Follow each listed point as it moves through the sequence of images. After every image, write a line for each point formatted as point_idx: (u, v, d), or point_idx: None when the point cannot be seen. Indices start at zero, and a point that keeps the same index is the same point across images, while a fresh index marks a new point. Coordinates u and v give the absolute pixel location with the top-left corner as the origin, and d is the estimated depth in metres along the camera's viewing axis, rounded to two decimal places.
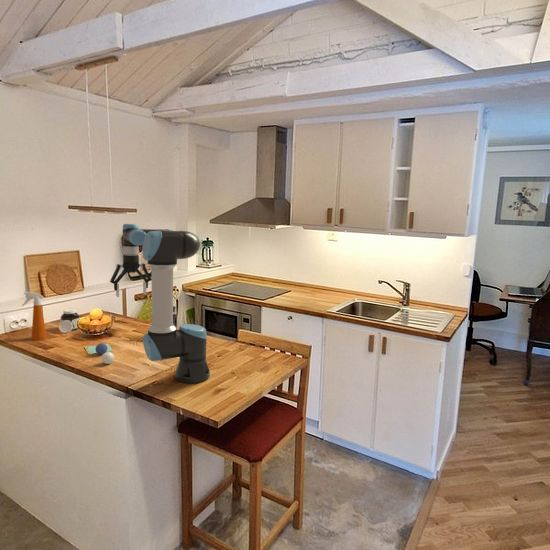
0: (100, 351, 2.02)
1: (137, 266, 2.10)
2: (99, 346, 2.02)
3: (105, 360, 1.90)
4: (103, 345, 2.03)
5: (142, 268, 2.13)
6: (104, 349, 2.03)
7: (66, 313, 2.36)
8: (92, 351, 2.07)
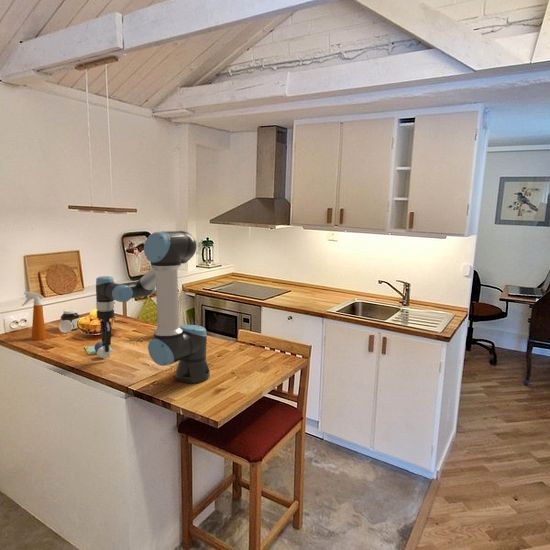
0: (98, 345, 2.04)
1: (104, 323, 1.90)
2: None
3: None
4: None
5: None
6: (102, 343, 2.06)
7: (66, 313, 2.36)
8: (92, 351, 2.07)
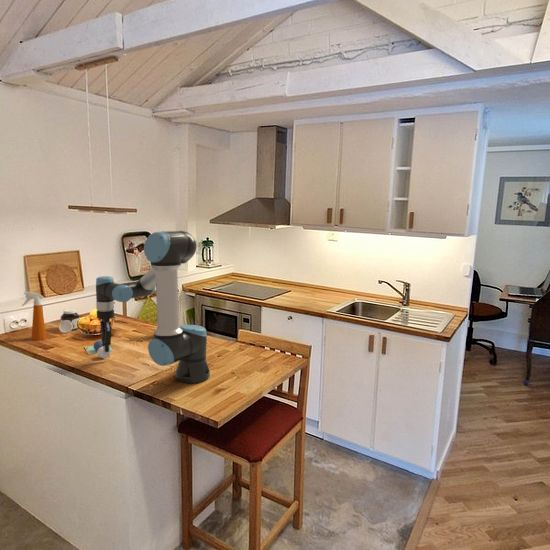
0: (97, 341, 2.07)
1: (104, 323, 1.90)
2: None
3: None
4: None
5: None
6: None
7: (66, 313, 2.36)
8: (92, 351, 2.07)
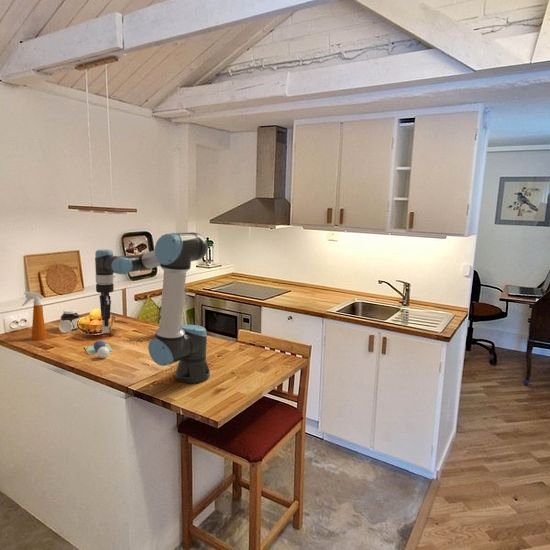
0: (97, 341, 2.07)
1: (103, 297, 1.88)
2: None
3: None
4: None
5: None
6: None
7: (66, 313, 2.36)
8: (92, 351, 2.07)
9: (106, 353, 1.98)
